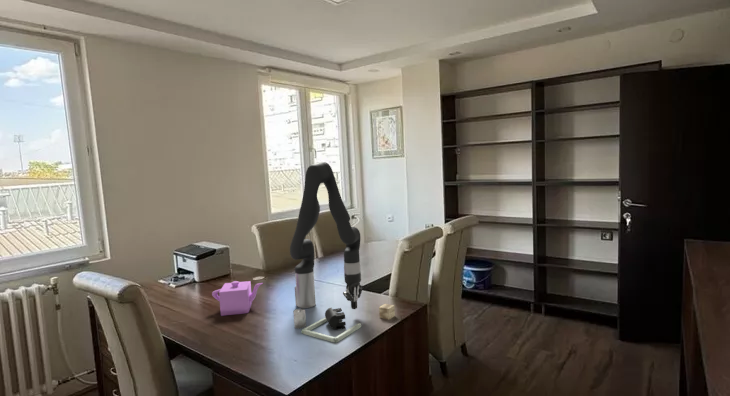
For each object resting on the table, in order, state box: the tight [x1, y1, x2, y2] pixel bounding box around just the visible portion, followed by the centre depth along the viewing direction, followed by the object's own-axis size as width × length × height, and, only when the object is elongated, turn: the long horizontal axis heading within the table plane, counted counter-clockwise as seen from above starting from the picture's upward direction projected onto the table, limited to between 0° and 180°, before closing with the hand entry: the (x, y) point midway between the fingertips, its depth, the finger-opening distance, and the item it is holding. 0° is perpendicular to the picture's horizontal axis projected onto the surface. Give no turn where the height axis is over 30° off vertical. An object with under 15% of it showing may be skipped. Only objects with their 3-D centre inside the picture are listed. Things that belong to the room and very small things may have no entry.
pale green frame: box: [301, 316, 362, 344], centre depth 168 cm, size 18×17×2 cm
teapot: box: [211, 280, 264, 317], centre depth 200 cm, size 15×25×14 cm, turn 99°
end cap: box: [324, 307, 346, 331], centre depth 173 cm, size 10×7×7 cm
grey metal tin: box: [293, 308, 307, 330], centre depth 174 cm, size 5×5×7 cm
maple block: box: [378, 303, 396, 320], centre depth 180 cm, size 5×5×5 cm
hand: (354, 308), depth 182 cm, fingers closed
